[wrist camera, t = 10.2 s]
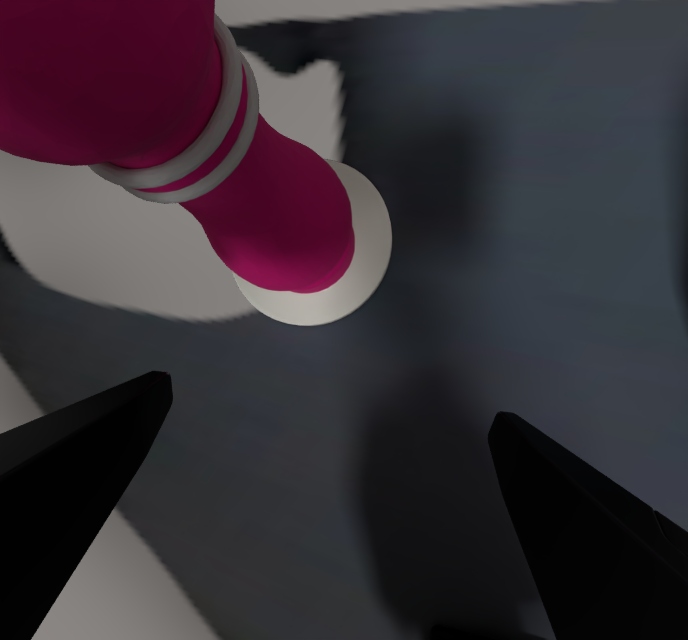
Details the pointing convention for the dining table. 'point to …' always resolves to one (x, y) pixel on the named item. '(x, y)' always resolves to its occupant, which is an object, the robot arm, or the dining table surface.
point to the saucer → (358, 278)
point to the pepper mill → (172, 129)
